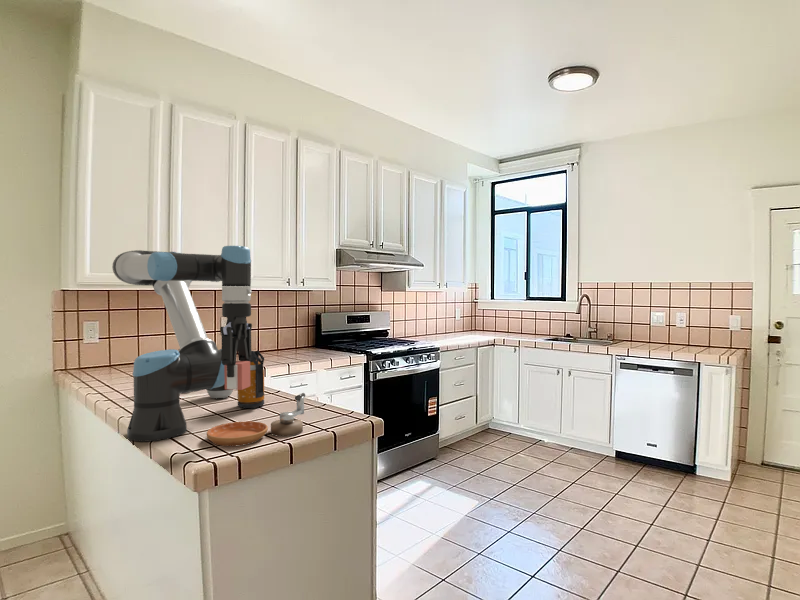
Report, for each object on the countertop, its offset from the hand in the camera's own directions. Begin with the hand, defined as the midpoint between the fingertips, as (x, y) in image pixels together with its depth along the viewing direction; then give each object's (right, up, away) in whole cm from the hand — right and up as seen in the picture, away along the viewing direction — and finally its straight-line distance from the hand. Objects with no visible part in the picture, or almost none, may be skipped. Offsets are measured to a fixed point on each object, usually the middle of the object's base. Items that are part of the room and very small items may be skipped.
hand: (237, 386), depth 131 cm
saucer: (0, -15, 0) cm, 15 cm away
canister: (-7, -14, +36) cm, 39 cm away
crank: (+13, -11, +10) cm, 20 cm away
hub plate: (+12, -14, +7) cm, 20 cm away
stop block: (0, 0, 0) cm, 0 cm away
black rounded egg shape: (-24, -14, +50) cm, 57 cm away
